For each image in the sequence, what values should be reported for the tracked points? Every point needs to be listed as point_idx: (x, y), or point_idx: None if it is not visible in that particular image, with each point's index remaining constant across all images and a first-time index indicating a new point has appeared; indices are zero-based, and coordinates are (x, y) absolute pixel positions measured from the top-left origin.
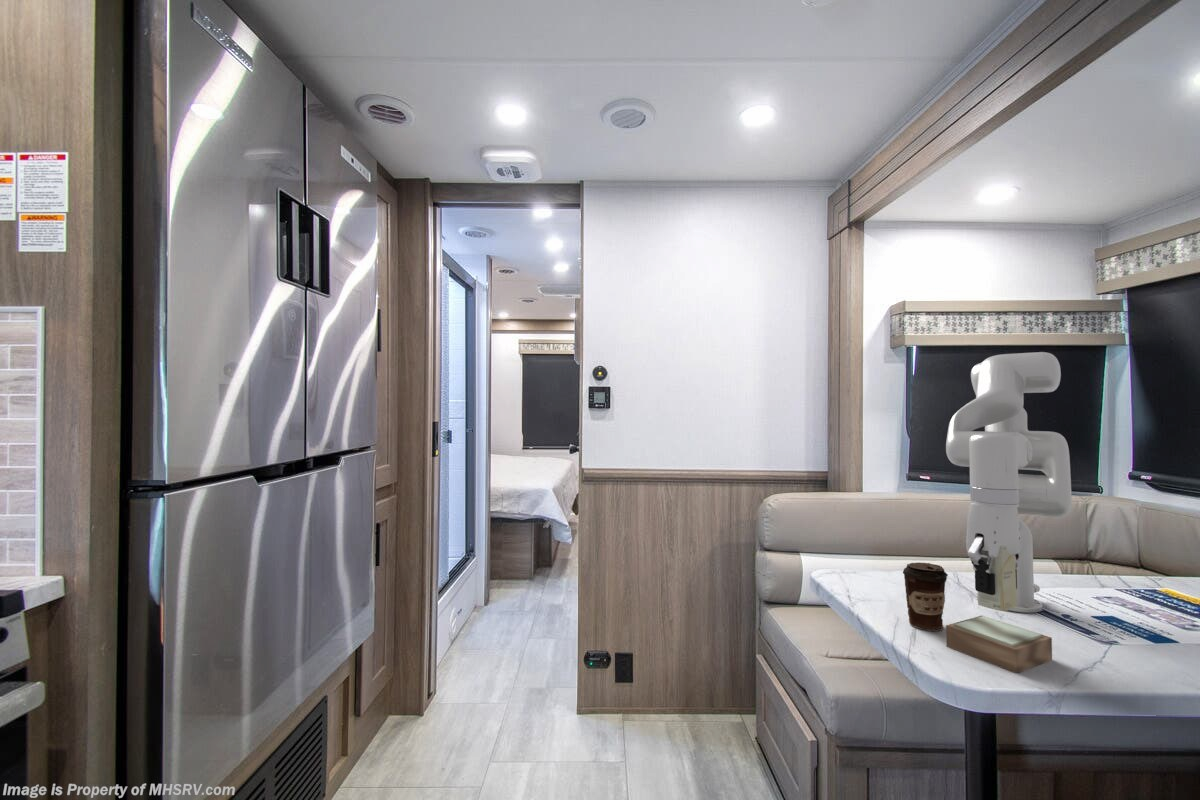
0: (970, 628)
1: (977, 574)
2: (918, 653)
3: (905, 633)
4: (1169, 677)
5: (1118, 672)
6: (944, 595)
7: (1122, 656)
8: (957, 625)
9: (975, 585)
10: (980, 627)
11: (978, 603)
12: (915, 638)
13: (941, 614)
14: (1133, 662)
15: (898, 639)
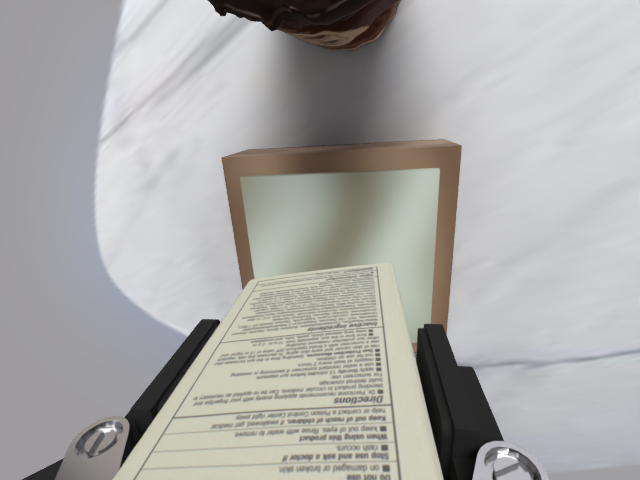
0: (258, 224)
1: (130, 411)
2: (132, 148)
3: (207, 14)
4: (564, 449)
5: (494, 400)
6: (351, 31)
7: (634, 378)
8: (241, 188)
9: (192, 333)
10: (301, 233)
11: (246, 285)
12: (206, 63)
13: (337, 46)
14: (605, 399)
15: (146, 47)
